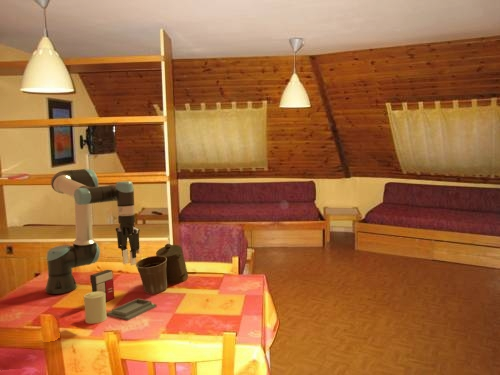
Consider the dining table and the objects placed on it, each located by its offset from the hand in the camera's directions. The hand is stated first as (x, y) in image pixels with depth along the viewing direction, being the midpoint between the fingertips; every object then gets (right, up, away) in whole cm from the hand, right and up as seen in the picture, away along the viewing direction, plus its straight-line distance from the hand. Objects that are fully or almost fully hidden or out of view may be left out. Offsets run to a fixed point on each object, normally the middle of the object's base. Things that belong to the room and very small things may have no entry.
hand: (129, 264), depth 194 cm
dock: (+1, -22, +2) cm, 22 cm away
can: (-13, -24, -7) cm, 28 cm away
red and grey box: (-17, -22, +15) cm, 32 cm away
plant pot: (+6, -19, +29) cm, 35 cm away
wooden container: (+14, -17, +43) cm, 48 cm away
